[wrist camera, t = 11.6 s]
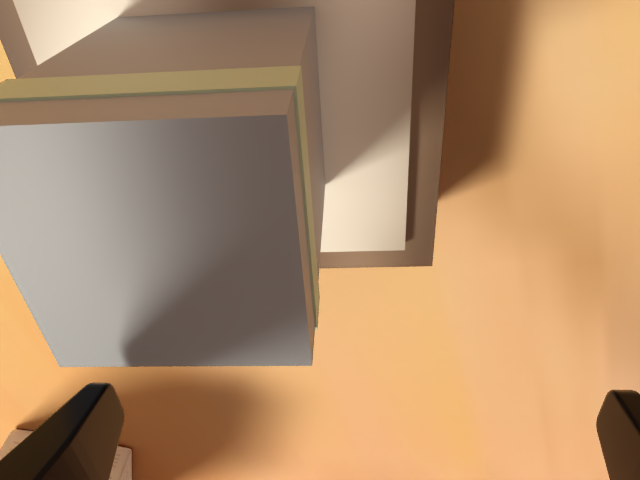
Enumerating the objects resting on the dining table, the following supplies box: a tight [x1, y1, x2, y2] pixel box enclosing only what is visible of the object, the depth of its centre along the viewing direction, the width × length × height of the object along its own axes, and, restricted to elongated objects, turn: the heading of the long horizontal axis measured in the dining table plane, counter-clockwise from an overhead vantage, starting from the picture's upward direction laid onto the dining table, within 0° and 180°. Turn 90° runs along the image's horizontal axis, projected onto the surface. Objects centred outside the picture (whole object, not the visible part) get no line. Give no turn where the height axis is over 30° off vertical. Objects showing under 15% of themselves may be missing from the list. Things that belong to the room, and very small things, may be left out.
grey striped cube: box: [0, 6, 325, 367], centre depth 11 cm, size 5×5×7 cm
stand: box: [0, 0, 454, 268], centre depth 16 cm, size 12×12×4 cm
